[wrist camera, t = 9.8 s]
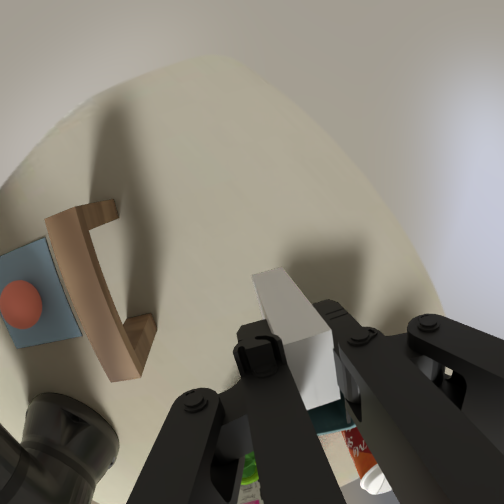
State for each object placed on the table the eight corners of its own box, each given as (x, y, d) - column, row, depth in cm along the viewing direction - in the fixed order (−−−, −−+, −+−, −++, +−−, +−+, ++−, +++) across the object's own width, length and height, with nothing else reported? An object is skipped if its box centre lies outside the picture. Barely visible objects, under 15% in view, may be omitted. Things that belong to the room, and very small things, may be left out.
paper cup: (323, 403, 37) (361, 480, 23) (374, 380, 37) (425, 446, 23) (333, 435, 39) (366, 504, 25) (379, 414, 39) (421, 475, 25)
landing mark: (17, 348, 30) (16, 348, 30) (-17, 263, 27) (-18, 264, 27) (82, 335, 31) (81, 336, 30) (45, 237, 28) (44, 237, 28)
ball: (14, 341, 23) (53, 321, 27) (-7, 293, 22) (35, 273, 26) (9, 331, 27) (44, 313, 31) (-8, 289, 25) (28, 272, 29)
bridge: (133, 334, 31) (110, 382, 22) (88, 208, 28) (44, 219, 19) (157, 329, 32) (140, 377, 23) (113, 199, 28) (74, 206, 19)
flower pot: (264, 392, 35) (278, 443, 26) (263, 331, 33) (279, 378, 24) (332, 382, 36) (358, 427, 27) (338, 323, 34) (372, 363, 25)
